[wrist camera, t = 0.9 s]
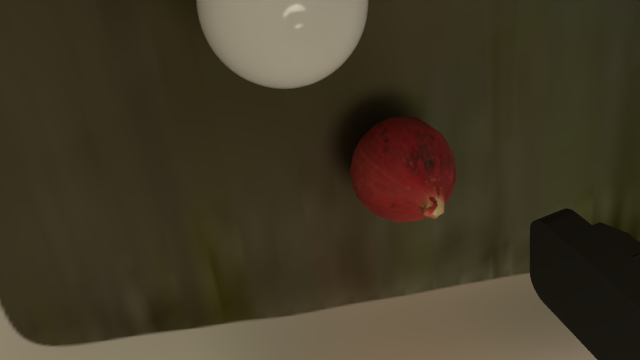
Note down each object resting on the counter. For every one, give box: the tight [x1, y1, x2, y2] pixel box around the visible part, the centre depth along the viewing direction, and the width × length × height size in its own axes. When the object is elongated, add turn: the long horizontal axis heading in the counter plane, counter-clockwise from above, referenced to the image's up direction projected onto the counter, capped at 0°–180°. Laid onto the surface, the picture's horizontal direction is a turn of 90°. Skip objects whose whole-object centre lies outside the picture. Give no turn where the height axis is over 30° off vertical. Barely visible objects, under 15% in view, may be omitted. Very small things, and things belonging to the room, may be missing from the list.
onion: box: [350, 117, 456, 222], centre depth 32 cm, size 6×6×8 cm
